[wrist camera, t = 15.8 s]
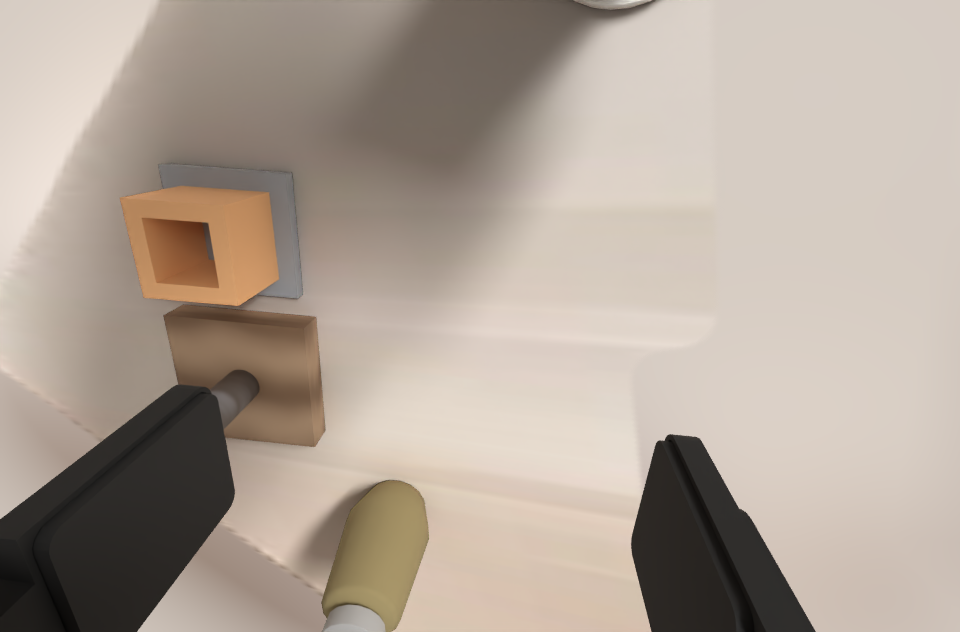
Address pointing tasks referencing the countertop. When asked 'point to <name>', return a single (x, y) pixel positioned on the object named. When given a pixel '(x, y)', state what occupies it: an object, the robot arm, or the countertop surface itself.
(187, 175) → the pad
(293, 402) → the stand
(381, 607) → the squeeze bottle
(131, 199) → the collar
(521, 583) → the countertop surface
